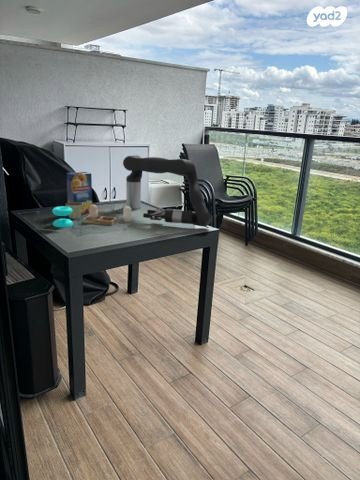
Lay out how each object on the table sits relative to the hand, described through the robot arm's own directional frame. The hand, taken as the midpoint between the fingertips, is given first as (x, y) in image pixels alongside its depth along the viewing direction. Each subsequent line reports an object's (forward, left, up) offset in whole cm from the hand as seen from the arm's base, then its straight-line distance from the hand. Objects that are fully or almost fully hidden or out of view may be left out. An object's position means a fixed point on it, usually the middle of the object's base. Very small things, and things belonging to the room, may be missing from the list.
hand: (145, 213), depth 204 cm
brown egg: (+7, -27, -5) cm, 29 cm away
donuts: (+19, -39, -6) cm, 44 cm away
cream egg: (0, -10, -6) cm, 12 cm away
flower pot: (+3, -40, -6) cm, 41 cm away
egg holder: (+8, -23, -6) cm, 25 cm away
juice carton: (-9, -42, -6) cm, 44 cm away
